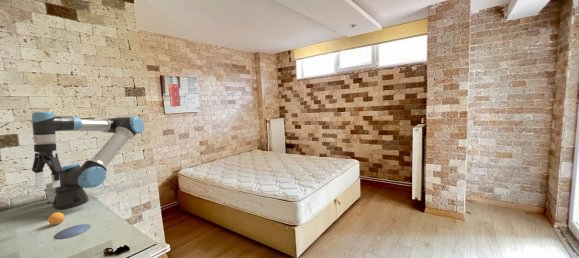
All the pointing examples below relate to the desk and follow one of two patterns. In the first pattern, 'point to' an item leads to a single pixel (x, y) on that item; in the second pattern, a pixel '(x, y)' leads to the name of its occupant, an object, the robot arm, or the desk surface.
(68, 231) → the disc
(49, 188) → the supplement box
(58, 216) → the ball
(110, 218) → the desk surface
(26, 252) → the desk surface
